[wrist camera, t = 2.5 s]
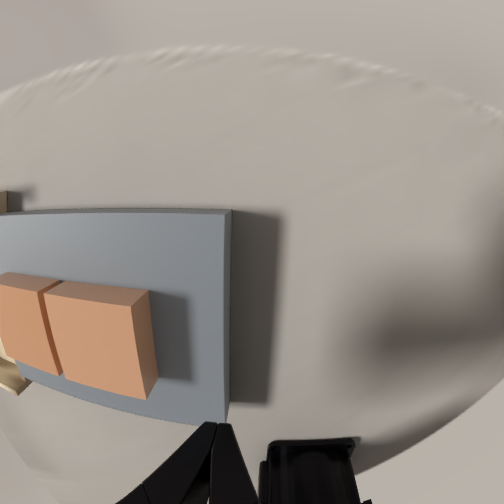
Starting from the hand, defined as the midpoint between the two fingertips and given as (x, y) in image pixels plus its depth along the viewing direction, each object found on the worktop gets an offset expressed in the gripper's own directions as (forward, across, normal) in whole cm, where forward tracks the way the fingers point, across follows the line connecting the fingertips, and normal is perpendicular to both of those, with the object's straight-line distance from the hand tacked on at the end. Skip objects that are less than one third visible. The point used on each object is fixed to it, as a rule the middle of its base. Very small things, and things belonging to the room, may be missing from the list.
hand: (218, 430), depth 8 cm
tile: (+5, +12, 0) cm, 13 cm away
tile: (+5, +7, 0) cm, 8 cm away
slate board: (+8, +9, 0) cm, 12 cm away
